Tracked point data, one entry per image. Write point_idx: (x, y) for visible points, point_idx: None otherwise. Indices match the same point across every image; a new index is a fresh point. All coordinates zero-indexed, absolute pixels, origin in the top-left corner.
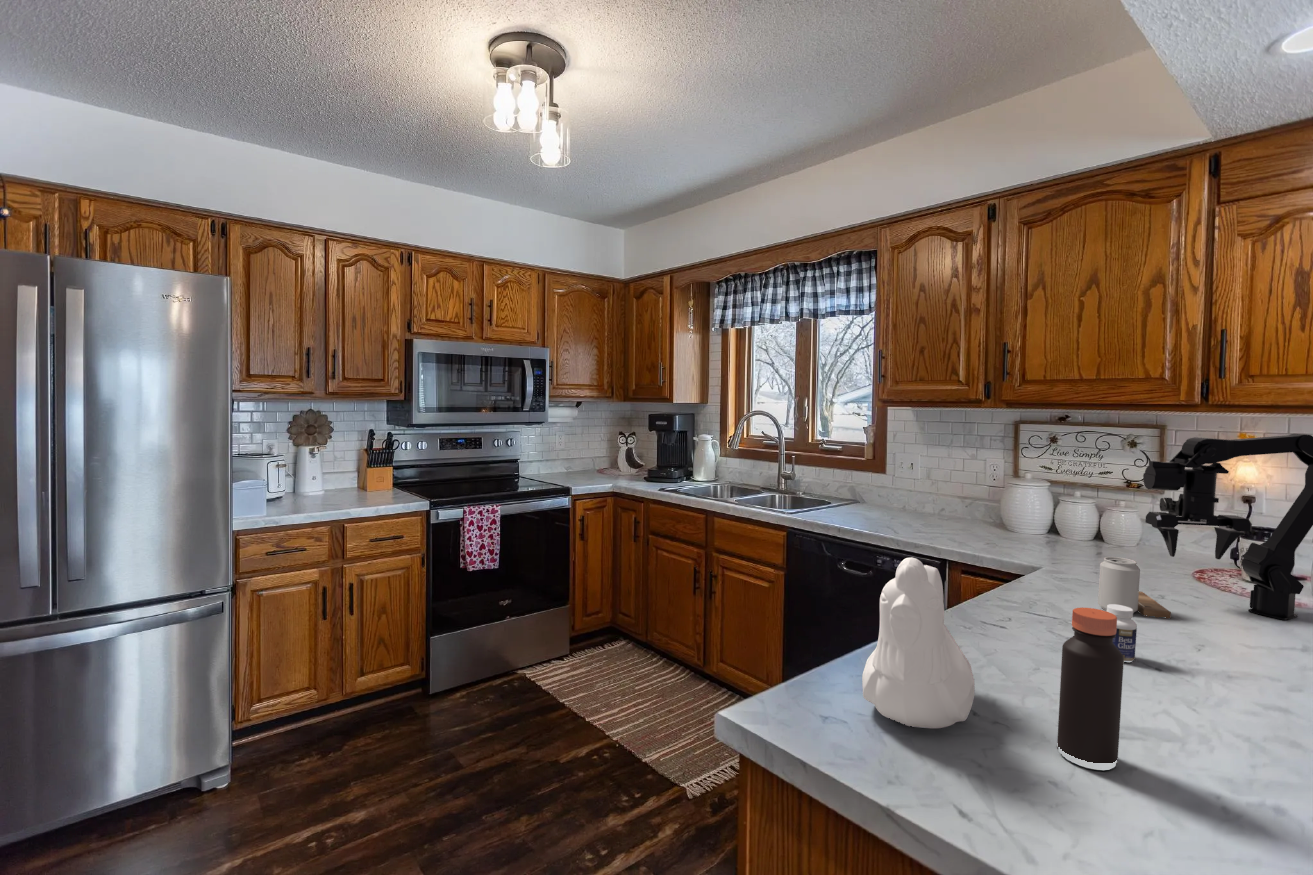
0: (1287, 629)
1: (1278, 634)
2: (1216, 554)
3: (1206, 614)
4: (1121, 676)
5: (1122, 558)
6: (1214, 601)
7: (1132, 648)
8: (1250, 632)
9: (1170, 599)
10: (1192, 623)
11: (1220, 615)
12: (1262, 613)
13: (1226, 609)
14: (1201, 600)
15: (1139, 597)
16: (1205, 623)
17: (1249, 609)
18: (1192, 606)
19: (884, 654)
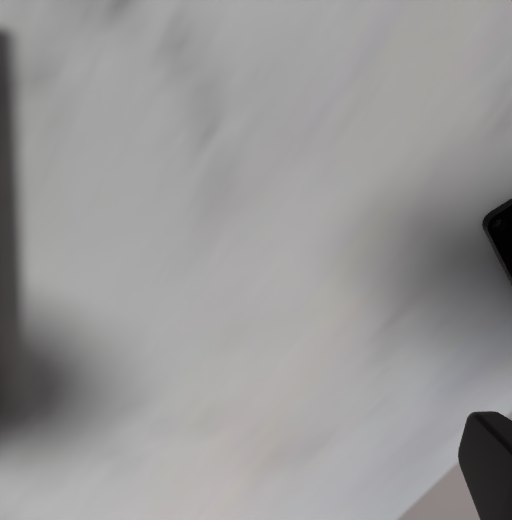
0: (442, 429)
1: (352, 491)
2: (499, 472)
3: (218, 310)
4: None
5: None
6: (454, 10)
7: None
8: (256, 497)
9: (165, 27)
10: (71, 455)
11: (282, 309)
12: (508, 272)
13: (396, 190)
14: (379, 3)
15: None
16: (131, 441)
17: (496, 219)
18: (227, 173)
19: None
